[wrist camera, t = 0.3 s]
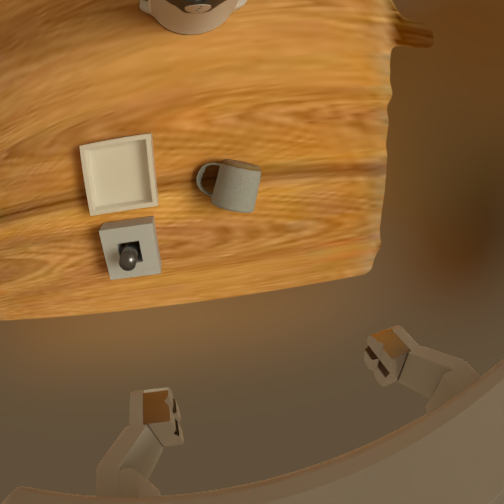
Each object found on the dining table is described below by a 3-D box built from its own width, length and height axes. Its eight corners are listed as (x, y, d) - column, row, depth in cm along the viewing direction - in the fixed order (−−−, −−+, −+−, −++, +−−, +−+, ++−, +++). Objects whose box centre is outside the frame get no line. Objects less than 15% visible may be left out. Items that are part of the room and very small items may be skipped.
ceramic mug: (257, 162, 54) (268, 169, 47) (248, 204, 57) (257, 217, 50) (200, 153, 51) (203, 158, 44) (192, 196, 54) (194, 208, 47)
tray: (84, 144, 44) (79, 146, 42) (151, 132, 47) (150, 133, 44) (94, 210, 50) (90, 215, 47) (158, 201, 53) (157, 205, 50)
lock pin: (123, 237, 54) (117, 256, 47) (138, 235, 54) (133, 254, 47) (126, 251, 55) (121, 271, 48) (141, 249, 56) (137, 269, 49)
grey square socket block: (103, 223, 51) (98, 231, 48) (153, 215, 54) (152, 223, 50) (113, 269, 56) (110, 279, 52) (161, 263, 58) (160, 273, 55)
